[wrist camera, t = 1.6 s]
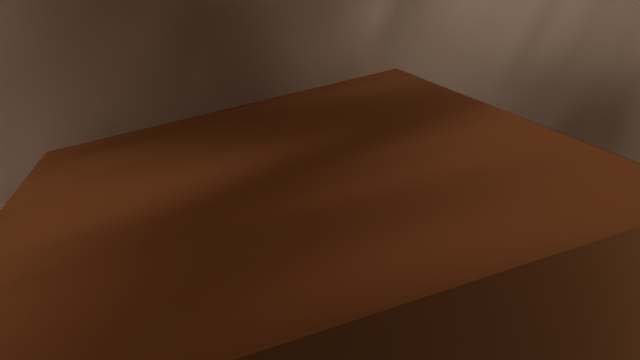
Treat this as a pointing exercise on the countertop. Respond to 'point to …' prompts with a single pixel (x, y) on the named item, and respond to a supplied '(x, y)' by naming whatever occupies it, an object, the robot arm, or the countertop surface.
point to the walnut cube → (327, 237)
